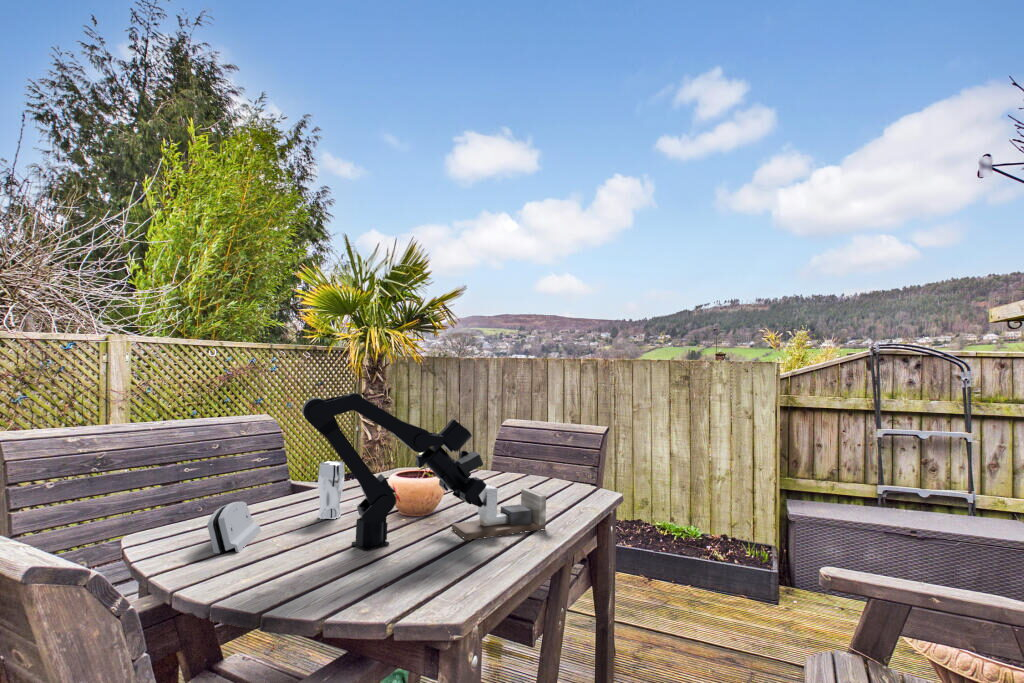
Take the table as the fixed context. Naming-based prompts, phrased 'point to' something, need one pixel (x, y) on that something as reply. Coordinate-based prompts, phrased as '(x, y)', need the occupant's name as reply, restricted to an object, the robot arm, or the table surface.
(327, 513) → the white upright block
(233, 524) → the grey rounded panel block
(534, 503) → the plate
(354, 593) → the table surface
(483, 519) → the white l-shaped block
